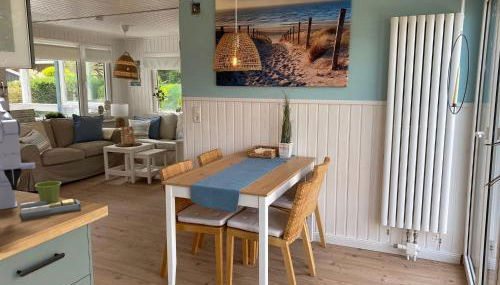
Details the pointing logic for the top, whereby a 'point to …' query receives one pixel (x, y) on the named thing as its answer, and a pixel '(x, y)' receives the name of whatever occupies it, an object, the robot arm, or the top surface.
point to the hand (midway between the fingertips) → (14, 189)
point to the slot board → (34, 209)
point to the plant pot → (48, 191)
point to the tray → (66, 208)
